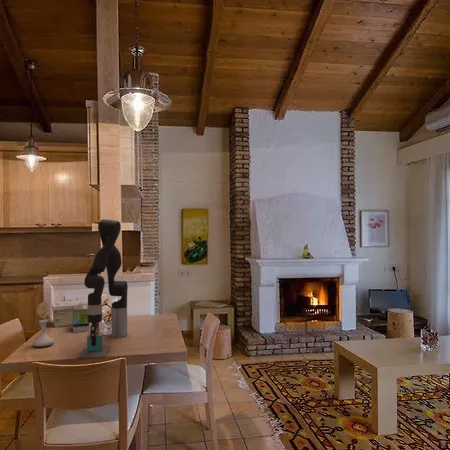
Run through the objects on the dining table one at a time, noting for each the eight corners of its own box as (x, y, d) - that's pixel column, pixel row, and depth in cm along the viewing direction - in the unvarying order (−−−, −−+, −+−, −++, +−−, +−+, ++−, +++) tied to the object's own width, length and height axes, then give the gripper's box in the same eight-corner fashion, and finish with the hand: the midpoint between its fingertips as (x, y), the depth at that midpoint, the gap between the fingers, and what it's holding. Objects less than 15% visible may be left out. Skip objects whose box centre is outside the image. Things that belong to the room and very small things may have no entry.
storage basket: (52, 328, 272) (52, 306, 272) (50, 323, 286) (50, 302, 286) (90, 324, 282) (90, 302, 282) (86, 319, 297) (86, 299, 297)
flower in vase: (29, 345, 232) (28, 301, 232) (49, 341, 240) (49, 298, 240) (37, 350, 223) (37, 303, 223) (58, 346, 231) (58, 301, 231)
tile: (87, 350, 220) (87, 335, 220) (103, 349, 221) (103, 334, 222) (87, 351, 218) (87, 336, 218) (102, 350, 219) (102, 335, 219)
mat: (83, 348, 225) (83, 347, 225) (110, 347, 228) (110, 346, 228) (77, 358, 207) (77, 357, 207) (106, 357, 210) (106, 356, 210)
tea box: (89, 331, 263) (89, 308, 263) (73, 332, 259) (72, 309, 259) (88, 326, 277) (88, 304, 277) (72, 327, 273) (72, 305, 273)
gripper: (89, 310, 226) (89, 339, 226) (85, 316, 212) (85, 347, 212) (103, 309, 227) (103, 339, 227) (100, 315, 213) (100, 346, 213)
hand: (94, 343), depth 220 cm, fingers open, 8 cm apart
